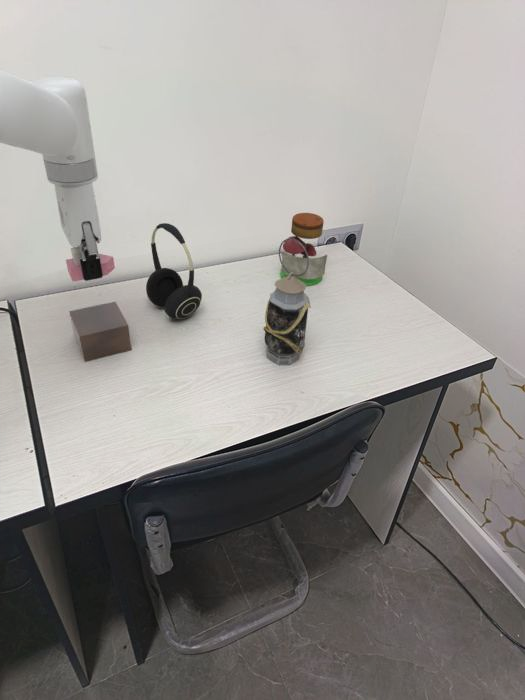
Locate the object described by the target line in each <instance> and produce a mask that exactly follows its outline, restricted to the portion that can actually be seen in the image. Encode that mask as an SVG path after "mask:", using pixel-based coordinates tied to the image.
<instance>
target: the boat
mask: <svg viewBox="0 0 525 700" xmlns="http://www.w3.org/2000/svg"><path fill="white" fill-rule="evenodd" d="M83 248H84V252H85V250H86V249H87V246H85V247H83ZM70 253H71V257H72V258H68V259H65V263H66V268H67V272H68V274H69V276H70V279H71V281H72V282H74V283H75V282H78V281H85V280H84V278H83V273H82V268H81V263H80V259H82V258H81V254H80V249H79V247H78V246H76V247H73V246H72V247H70ZM99 257H100V262H101V268H102V274H103V277H105V276H108V275H109V274H110V273H112V271H114V270H115V269H116V267H115V260H114V259H115V258H114V256H113V255H107V254H103V253H99Z"/></svg>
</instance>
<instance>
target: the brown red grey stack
mask: <svg viewBox="0 0 525 700" xmlns="http://www.w3.org/2000/svg"><path fill="white" fill-rule="evenodd" d="M324 222H325V221H324V219H323V217H321V216H320V215H319V214H315V213H311V212H300V213H296V214H294V215H293V216H292V218H291V227H290V228H291V229H290V233H291V234H292V235H293V236H289V237H287V238H286V239H288V238H292V239H296V240H297V241H299V242H300V243H301V244H302V245H303V246H304V248H305V249H306V251H307V254H308V257H309V266H308V269H307V271H306V273H305V274H304V275H302V276H294V277H295V278H297V279H298V280H300V281H302V282H303V283H305V284H306V287H308V286H313V285H316V284H318V283H320V282H321V281H322V279H323V275H325V272H326V264H327V260H328V259H327V258H328V254H324V255H323V256H319V257H315V256H317V250H316V248H315V246H314V245H313V244H312V243H310V242H309V243H308V242H307V243H306V242H305V241H303V240H302V239H304V240H315V239H318V238H320V237H322V235H323V228H324ZM282 249H283V251H282V250H280V255H281V260H282V263H283V265H284V267H285V268H286V269H287V270H288V271H289V272H290V273H291V272H293V273H294V274H295V275H300V274H302V273H304V272H305V270H306V268H307V256H306V253H305V250H304V249H303V247H302V246H301V245H300V244H299V243H298V242H296V241H294V240H287V241H285V242H284V243H283V244H282ZM300 254H301V255H302V257H301V256H297V255H300ZM279 275H280V277H281V278H285V277H288V276H289V275H290V274H289V273H288V272H287V271H286V270H285V269H284V268H283V266H282V265H281V268H280V271H279Z"/></svg>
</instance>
